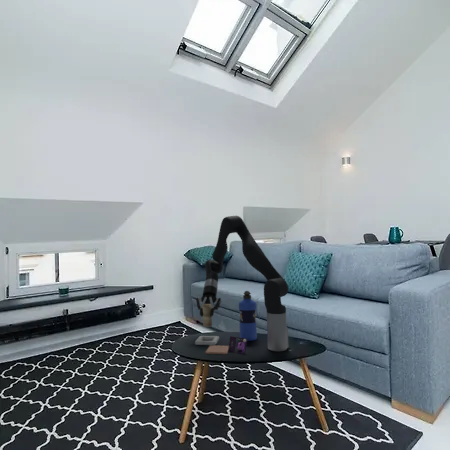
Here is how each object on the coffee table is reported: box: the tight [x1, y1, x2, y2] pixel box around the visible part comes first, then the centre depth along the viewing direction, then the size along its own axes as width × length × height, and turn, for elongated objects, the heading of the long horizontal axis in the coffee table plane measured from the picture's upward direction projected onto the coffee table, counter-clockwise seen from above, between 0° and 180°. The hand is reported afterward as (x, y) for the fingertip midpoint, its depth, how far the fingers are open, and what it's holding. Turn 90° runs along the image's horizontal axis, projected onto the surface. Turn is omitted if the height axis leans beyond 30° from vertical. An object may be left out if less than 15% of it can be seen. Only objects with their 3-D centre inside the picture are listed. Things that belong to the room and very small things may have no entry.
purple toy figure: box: [228, 335, 248, 355], centre depth 159 cm, size 7×5×9 cm
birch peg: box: [201, 304, 213, 328], centre depth 175 cm, size 4×4×11 cm
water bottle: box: [238, 290, 258, 342], centre depth 179 cm, size 9×9×25 cm
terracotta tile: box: [205, 344, 229, 355], centre depth 160 cm, size 10×10×1 cm
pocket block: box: [194, 335, 220, 346], centre depth 174 cm, size 10×10×2 cm
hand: (206, 315), depth 173 cm, fingers closed on birch peg, 4 cm apart
